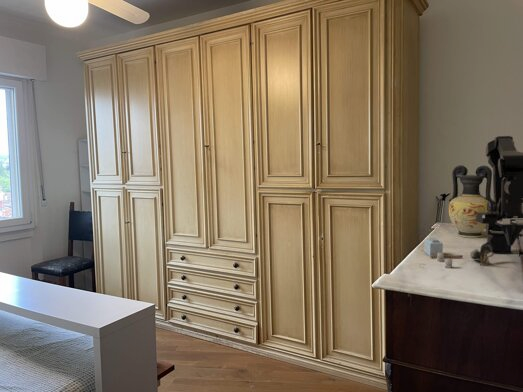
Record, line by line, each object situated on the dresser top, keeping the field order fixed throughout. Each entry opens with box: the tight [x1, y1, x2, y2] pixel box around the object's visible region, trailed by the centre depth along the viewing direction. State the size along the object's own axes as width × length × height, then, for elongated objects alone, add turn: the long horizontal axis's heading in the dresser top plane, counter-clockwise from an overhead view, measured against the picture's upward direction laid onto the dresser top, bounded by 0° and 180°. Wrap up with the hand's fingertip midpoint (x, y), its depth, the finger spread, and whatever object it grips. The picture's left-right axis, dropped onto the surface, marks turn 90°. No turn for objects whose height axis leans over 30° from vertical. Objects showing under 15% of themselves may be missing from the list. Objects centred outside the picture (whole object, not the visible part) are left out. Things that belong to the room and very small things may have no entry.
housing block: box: [424, 237, 444, 257], centre depth 142 cm, size 4×7×5 cm, turn 173°
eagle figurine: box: [469, 241, 495, 266], centre depth 130 cm, size 8×7×9 cm
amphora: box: [448, 164, 494, 239], centre depth 172 cm, size 18×17×30 cm
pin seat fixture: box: [430, 252, 463, 269], centre depth 134 cm, size 10×19×2 cm, turn 173°
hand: (510, 245), depth 127 cm, fingers closed
